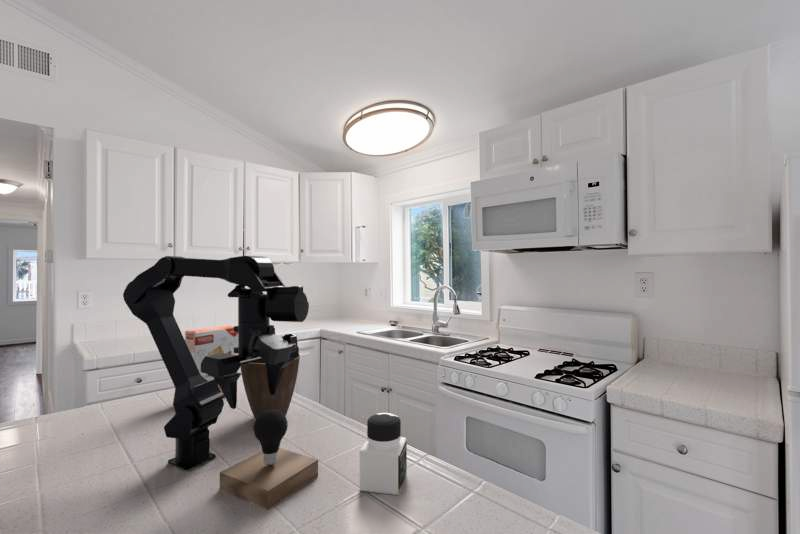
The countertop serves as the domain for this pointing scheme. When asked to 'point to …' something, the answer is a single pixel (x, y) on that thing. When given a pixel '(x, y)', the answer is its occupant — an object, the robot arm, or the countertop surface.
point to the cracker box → (211, 344)
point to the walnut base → (268, 477)
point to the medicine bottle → (383, 455)
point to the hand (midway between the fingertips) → (254, 401)
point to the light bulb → (270, 433)
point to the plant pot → (259, 388)
